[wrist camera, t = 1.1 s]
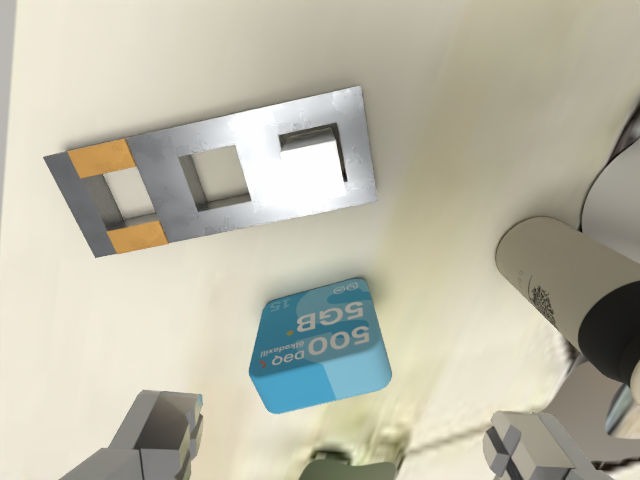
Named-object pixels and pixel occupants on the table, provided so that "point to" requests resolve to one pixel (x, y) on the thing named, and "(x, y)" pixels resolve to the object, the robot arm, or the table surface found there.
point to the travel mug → (579, 292)
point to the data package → (319, 348)
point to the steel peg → (312, 166)
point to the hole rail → (183, 183)
